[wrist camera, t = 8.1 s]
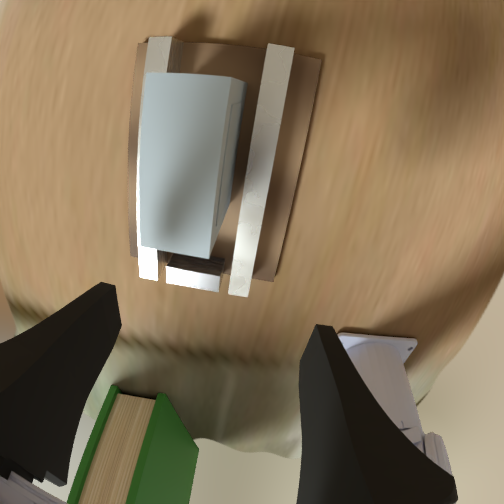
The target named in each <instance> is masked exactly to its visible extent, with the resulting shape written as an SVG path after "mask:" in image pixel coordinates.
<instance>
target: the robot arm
mask: <svg viewBox="0 0 504 504" xmlns="http://www.w3.org/2000/svg"><path fill="white" fill-rule="evenodd" d="M121 326H122V324H121V318H120V313H119V307H118V301H117V294H116V287H115V285H111V284H107V283H104V282H100V283H99V284H97V285H95V286H94V287H92V288H91V289H89V290H88V291H86V292H85V293H84V294H82V295H81V296H79V297H78V298H76V299H75V300H73V301H72V302H70V303H69V304H68V305H66V306H65V307H63V308H62V309H60V310H59V311H57V312H56V313H54V314H53V315H51V316H50V317H48V318H46V319H45V320H43V321H42V322H40V323H39V324H37V325H35V326H34V327H32V328H30V329H29V330H27V331H25V332H23V333H21V334H19V335H17V336H16V337H14V338H12V339H10V340H7V341H5V342H3V343H0V504H68V503H66V502H64V501H62V500H60V499H58V498H56V497H54V496H53V495H51V494H49V493H47V492H45V491H44V490H42V489H40V488H39V487H37V486H35V485H34V484H32V482H33V479H36V480H38V481H39V482H41V483H42V482H43V480H44V479H46V480H48V481H50V482H52V483H53V484H55V485H57V486H59V487H60V486H64V485H66V484H67V478H68V470H69V462H70V457H71V452H72V448H73V443H74V439H75V435H76V432H77V428H78V425H79V421H80V418H81V415H82V412H83V409H84V406H85V403H86V401H87V398H88V396H89V394H90V392H91V390H92V388H93V386H94V384H95V382H96V380H97V378H98V376H99V374H100V372H101V370H102V368H103V366H104V364H105V363H106V361H107V359H108V357H109V355H110V353H111V351H112V349H113V347H114V344H115V342H116V339H117V337H118V334H119V331H120V329H121ZM417 344H418V342H417V340H416V339H414V338H399V337H386V336H374V335H364V334H353V333H344V332H342V333H339V334H337V333H336V332H335V330H334V328H333V327H332V326H326V325H318V324H316V325H315V328H314V330H313V332H312V335H311V337H310V339H309V342H308V344H307V346H306V348H305V351H304V353H303V355H302V357H301V360H300V370H299V398H300V413H301V429H302V457H301V470H300V481H299V489H298V497H297V503H296V504H456V501H457V500H458V495H457V490H456V484H455V480H454V477H453V476H452V471H451V466H450V463H449V458H448V455H447V451H446V448H445V445H444V442H443V439H442V437H441V436H440V435H437V434H434V433H433V432H430V433H428V434H426V435H425V434H424V432H423V431H422V427H421V423H420V419H419V415H418V411H417V408H416V404H415V400H414V397H413V394H412V390H411V387H410V383H409V380H408V377H407V374H406V371H405V368H404V362H405V361H406V360H407V358H408V357H409V355H410V354H411V353H412V351H413V350H414V348H415V347H416V346H417Z"/></svg>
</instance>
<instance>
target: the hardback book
mask: <svg viewBox="0 0 504 504" xmlns="http://www.w3.org/2000/svg"><path fill="white" fill-rule="evenodd" d="M198 452H199V448H198V447H197V445H196V444H195V442H194V441H193V439H192V437H191V436H190V434H189V433H188V431H187V430H186V428H185V426H184V425H183V423H182V421H181V420H180V418H179V416H178V415H177V413H176V411H175V410H174V408H173V406H172V404H171V403H170V401H169V399H168V397H167V396H166V394H163V393H158V395H157V398H156V400H152V399H146V398H140V397H134V396H129V395H124V394H123V393H122V392H121V391H120V389H119V388H118V386H114V385H111V387H110V389H109V392H108V394H107V396H106V399H105V401H104V403H103V406H102V408H101V410H100V413H99V415H98V418H97V420H96V423H95V425H94V428H93V430H92V433H91V435H90V438H89V441H88V443H87V446H86V448H85V451H84V454H83V456H82V459H81V462H80V465H79V467H78V470H77V473H76V476H75V479H74V482H73V485H72V488H71V491H70V494H69V497H68V500H67V503H68V504H189V501H190V495H191V490H192V484H193V479H194V473H195V468H196V463H197V458H198Z"/></svg>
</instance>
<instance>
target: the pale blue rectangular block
mask: <svg viewBox="0 0 504 504" xmlns="http://www.w3.org/2000/svg"><path fill="white" fill-rule="evenodd" d="M247 85H248V83H246V82H244V81H241V80H238V79H235V78H233V77H226V76H215V75H203V74H186V73H146V80H145V89H144V99H143V111H142V124H141V140H140V164H139V228H140V247H145V248H151V249H156V250H161V251H167V252H172V253H178V254H184V255H189V256H195V257H200V258H206V259H209V257H210V255H211V252H212V249H213V247H214V244H215V241H216V239H217V236H218V233H219V231H220V228H221V225H222V223H223V220H224V217H225V215H226V212H227V210H228V207H229V204H230V198H231V191H232V183H233V176H234V169H235V162H236V156H237V149H238V142H239V136H240V129H241V123H242V116H243V110H244V104H245V97H246V91H247Z"/></svg>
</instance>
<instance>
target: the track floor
mask: <svg viewBox="0 0 504 504" xmlns="http://www.w3.org/2000/svg"><path fill="white" fill-rule="evenodd" d="M147 47H148V43H138V47H137V54H136V61H135V69H134V77H133V86H132V97H131V109H130V123H129V143H128V217H129V238H130V253H131V256H132V257H138V258H139V253H138V232H137V153H138V132H139V117H140V105H141V94H142V85H143V76H144V68H145V61H146V54H147ZM266 52H267V49H263V48H255V47H247V46H238V45H228V44H215V43H194V42H184V46H183V52H182V59H181V65H180V72H179V73H186V74H203V75H215V76H226V77H233V78H235V79H238V80H241V81H244V82H246V83H248V85H247V91H246V97H245V104H244V110H243V116H242V123H241V129H240V136H239V142H238V149H237V156H236V162H235V169H234V176H233V183H232V191H231V198H230V204H229V207H228V210H227V212H226V215H225V217H224V220H223V223H222V225H221V228H220V231H219V233H218V236H217V239H216V241H215V244H214V247H213V249H212V252H211V255H210V256H215V257H220V258H225V265H224V273H223V274H229V275H231V270H232V263H233V256H234V249H235V242H236V236H237V229H238V222H239V216H240V209H241V202H242V196H243V189H244V183H245V177H246V170H247V164H248V158H249V152H250V145H251V139H252V133H253V127H254V121H255V115H256V109H257V103H258V97H259V92H260V86H261V80H262V74H263V69H264V63H265V57H266ZM321 62H322V60H320V59H316V58H312V57H307V56H302V55H298V54H293V60H292V65H291V70H290V76H289V81H288V87H287V92H286V98H285V103H284V108H283V114H282V119H281V124H280V130H279V135H278V141H277V146H276V151H275V157H274V162H273V167H272V173H271V178H270V183H269V188H268V194H267V199H266V204H265V210H264V215H263V220H262V225H261V231H260V236H259V241H258V246H257V251H256V257H255V262H254V267H253V272H252V279H258V280H264V281H270V282H273V281H274V277H275V273H276V269H277V265H278V261H279V257H280V253H281V249H282V244H283V240H284V236H285V232H286V227H287V223H288V219H289V214H290V210H291V206H292V201H293V197H294V192H295V188H296V183H297V179H298V174H299V170H300V165H301V161H302V156H303V151H304V147H305V142H306V137H307V132H308V128H309V123H310V118H311V113H312V108H313V103H314V98H315V93H316V88H317V83H318V77H319V72H320V67H321ZM173 254H174V253H172V252H167V263H169V261H170V259H171V257H172V255H173Z"/></svg>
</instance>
